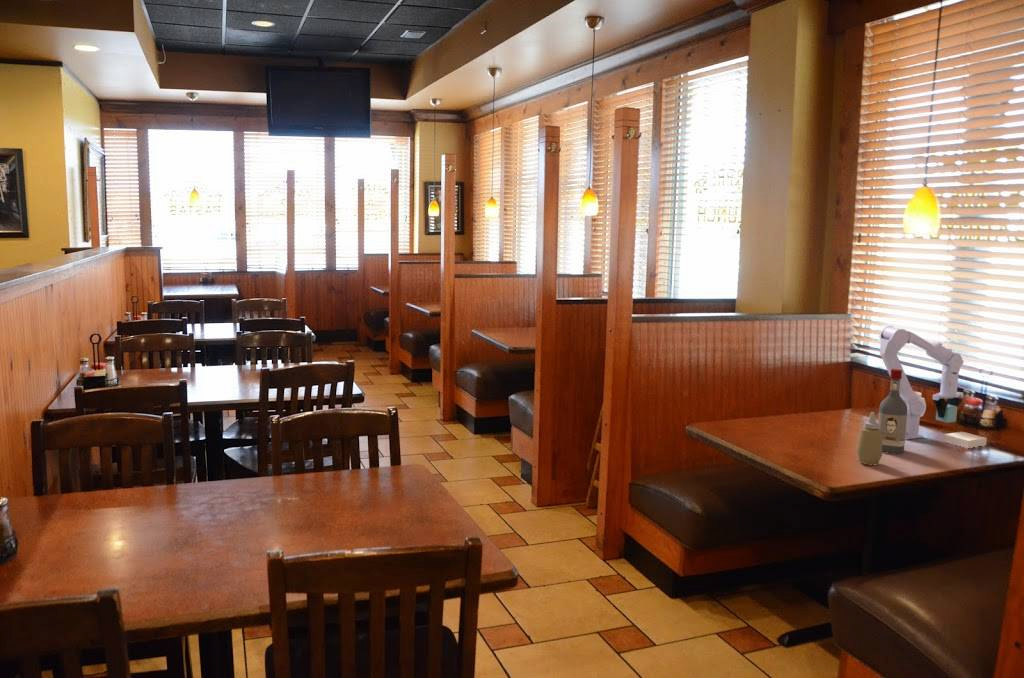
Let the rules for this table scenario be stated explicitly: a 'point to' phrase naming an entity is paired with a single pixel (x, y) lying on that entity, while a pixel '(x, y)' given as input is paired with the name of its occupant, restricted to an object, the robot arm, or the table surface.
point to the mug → (923, 402)
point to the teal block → (948, 414)
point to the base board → (964, 439)
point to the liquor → (893, 417)
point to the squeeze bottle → (870, 442)
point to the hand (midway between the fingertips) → (946, 416)
